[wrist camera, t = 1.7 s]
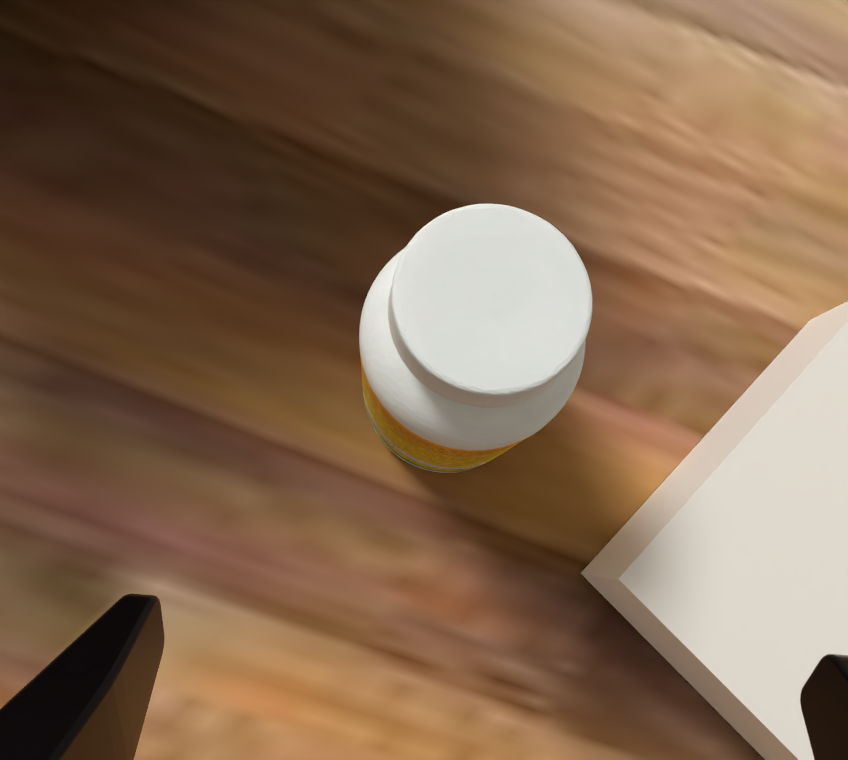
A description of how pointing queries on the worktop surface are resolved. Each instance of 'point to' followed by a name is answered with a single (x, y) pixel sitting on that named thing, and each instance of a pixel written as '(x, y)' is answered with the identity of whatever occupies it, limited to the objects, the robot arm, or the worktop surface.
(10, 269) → the worktop surface
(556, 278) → the supplement bottle
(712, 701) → the podium
